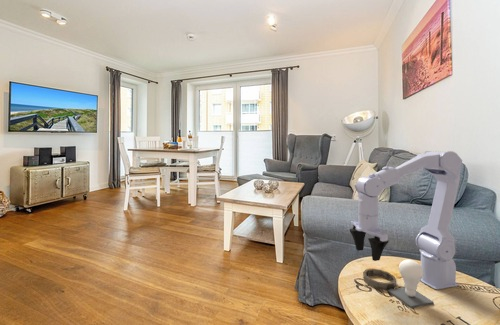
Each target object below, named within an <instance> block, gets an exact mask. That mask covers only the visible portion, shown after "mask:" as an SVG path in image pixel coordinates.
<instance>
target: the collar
mask: <svg viewBox="0 0 500 325" xmlns="http://www.w3.org/2000/svg"><path fill="white" fill-rule="evenodd" d="M369 276H370V277H369ZM371 276H377V277H381V278H383V279H386V280H388V281H389V282H381V281H378V280H375V279H372V278H371ZM362 279H363V281H364V282H365V283H366V284H367V285H368V286H370V287H372V288H375V289H377V290H382V291H388V290H391V289H396V287H397V278H396V277H395V275H393V274H392V273H390V272H388V271H385V270H383V269H378V268H366V269H365V270H364V271H362Z"/></svg>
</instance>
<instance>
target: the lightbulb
mask: <svg viewBox="0 0 500 325" xmlns="http://www.w3.org/2000/svg"><path fill="white" fill-rule="evenodd" d="M398 270H399V274H400V275H401V278H402V280H403V285H404V287H405V292H406V294H407V295H409V296H410V297H412V296H415V295H416V291H417V289H418V285H419V283H420V282H421V281H420V280H421V279H422V277H423V274H424V272H423V269H422V267H421V263H418V261H416V260H413V259H404V260H402V261H401V262H399V266H398Z"/></svg>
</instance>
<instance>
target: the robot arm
mask: <svg viewBox="0 0 500 325" xmlns="http://www.w3.org/2000/svg"><path fill="white" fill-rule="evenodd" d="M462 165H463V159H462V158H461V157H460V156H459V154H458V153H457V152H455V151H452V150H449V151H431V150H430V151H428V150H427V151H424V152H422V153H418V154H417V155H416V156H414V157H413V158H411V159H408V160H407V161H405V162H403V163H401V164H400V165H398V166H395V167H393V166H383V167H382V169H381V170H379V171H377V172H373V173H369V175H368V176H361V177H359V178H358V180H357V181H356V184H355V185H354V188H355V189H354V190H355V191H356V192H357V197H358V203H357V204H358V206H357V207H358V208H357V210H358V211H357V214H358V216H357V219H358V220H351V221H350V227H351V228H350V229H349V232H350V234H351V236H352V239H353V242H354V245H355V249H356V251H357V252H359V251H364V248H365V247H364V245H365V239H366V234H368V235H370V236H372V237H369V238H368V242H369V245H370V249H371V258H372V261H373V262H376V261H380V260H381V256H382V254H383V251H384V249H385V247H386V246H387V245H388V243H389V236H388V234H387V233H386V232H384V231H383V230H381V229H380V228H379V221H378V220H379V214H378V213H379V196H380V195H381V194H382V192H383V191H384V190H385V189H388V188H389V187H392V186H394V185H396V184H398V183H400V182H401V180H402V177H404V176H406V175H409V174H411V173H415V172H417V171H419V170H422V169H423V170H425V171H426V172H427V173H429V174H431V175H432V176H433V177H434V178H435V180H436V181H437V182H436V186H435V191H434V195H433V200H432V203H431V204H432V205H431V209H430V212H429V213H430V214H429V218H428V222H427V224H426V225H425V226H422V227H421V228H420V231H419V233H418V234H417V236H416V237H415V245H416V247H417V248H418V249H419V252H420V266H421V267H422V269H423V272H424V274H423V277H422V279H421V280H420V281H419V282H421V283H423V284H426V285H427V286H428V287H430V288H432V289H434V290H437V291H438V290H442V289H448V288H454V287H458V286H459V284H458V283H456V282H457V281H456V279H457V276H456V273H457V265H456V262H455V260H454V259H453V257H454V256H455V254H456V246H455V243H456V238H455V237H454V236H453V235H452V234H451V232H450V231H449V229H450V224H451V220H452V217H453V216H452V215H453V211H454V208H455V203H456V199H457V193H458V190H459V185H460V180H461V174H460V173H461V168H462Z"/></svg>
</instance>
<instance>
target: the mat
mask: <svg viewBox="0 0 500 325" xmlns="http://www.w3.org/2000/svg"><path fill="white" fill-rule="evenodd" d="M387 292H388V293H389V294H391V295H392V296H393V297H394V298H396V299H397V300H399V301H400V302H401V303H402V304H405V306H406V307H408V308H410V309H414V308H419V307H425V306H430V305H434V301H433V300H432V299H430V298H428V297H426V296H425V295H423V294H421V293H420V292H419V291H417V290H416V295H415V296H412V297H410V296H409V295H407V294H406V292H405V286H404V287H399V288H398V287H397V288H394V289H391V290H387Z"/></svg>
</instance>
